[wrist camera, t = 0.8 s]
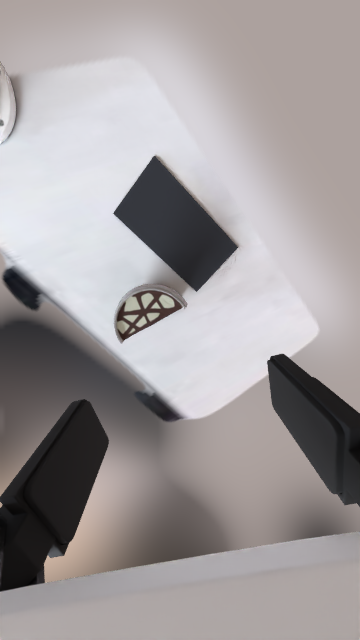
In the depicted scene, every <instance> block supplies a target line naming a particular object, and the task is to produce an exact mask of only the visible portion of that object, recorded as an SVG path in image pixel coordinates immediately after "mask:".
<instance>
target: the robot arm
mask: <svg viewBox="0 0 360 640" xmlns="http://www.w3.org/2000/svg"><path fill="white" fill-rule="evenodd" d="M15 116H16V101H15V96H14V91H13V87H12V84H11V82H10V79H9V77H8V75H7V72H6V71H5V68H4V67H3V65H2V64H1V62H0V143H2V142H3V141H4V140H5V139H6V138H7V137H8V136H9V134H10V133H11V131H12V129H13V126H14V122H15ZM267 364H268V373H269V381H270V390H271V399H272V405H273V407H274V410H275V411H276V413H277V414H278V416H279V417H280V419H281V420H282V421H283V423H284V424H285V426H286V427H287V429H288V430H289V432H290V433H291V435H292V436H293V438H294V439H295V440H296V442H297V443H298V445H299V446H300V448H301V449H302V451H303V452H304V454H305V455H306V457H307V458H308V460H309V461H310V462H311V464H312V466H313V467H314V469H315V470H316V472H317V473H318V474H319V476H320V477H321V479H322V480H323V482H324V483H325V485H326V486H327V488H328V489H329V490H330V491H331V493H333V494H338V496H339V497H340V499H341V500H342V502H343V503H344V505H348V504H354V503H357V504H358V505H359V506H360V413H358V412H357V411H356V410H355V409H353V408H352V407H351V406H349V405H348V404H347V403H346V402H345V401H343V400H342V399H341V398H340V397H339V396H337V395H336V394H335V393H334V392H332V391H331V390H330V389H329V388H328V387H326V386H325V385H324V384H322V383H321V382H320V381H319V380H317V379H316V378H314V377H311V376H310V375H309V374H307V373H306V372H305V371H304V370H303V369H301V368H300V367H299V366H298V365H297V364H295V363H294V362H293V361H292V360H291V359H289V358H288V357H287V356H286V355H284V354H279V355H275V356H271V357H270V360H268V361H267ZM108 444H109V440H108V437H107V435H106V433H105V431H104V429H103V427H102V425H101V423H100V421H99V419H98V417H97V415H96V413H95V411H94V409H93V407H92V405H91V403H90V402H89V401H87V400H85V399H83V400H78V401H74V402H72V403H71V404H70V405H69V407H68V408H67V410H66V411H65V412H64V413H63V415H62V416H61V417H60V419H59V420H58V421H57V423H56V424H55V425H54V427H53V428H52V429H51V431H50V432H49V433H48V435H47V436H46V437H45V438H44V440H43V441H42V442H41V444H40V445H39V446H38V448H37V449H36V450H35V452H34V453H33V454H32V456H31V457H30V458H29V460H28V461H27V462H26V464H25V465H24V466H23V467H22V469H21V470H20V471H19V473H18V474H17V475H16V477H15V478H14V479H13V481H12V482H11V483H10V485H9V486H8V487H7V489H6V490H5V491H4V493H3V494H2V495H1V496H0V502H1V503H2V504H3V505H2V507H1V508H0V640H360V532H352V533H344V534H337V535H331V536H323V537H317V538H309V539H301V540H294V541H288V542H283V543H276V544H271V545H264V546H258V547H252V548H246V549H240V550H234V551H227V552H221V553H216V554H209V555H203V556H197V557H191V558H186V559H180V560H174V561H168V562H162V563H156V564H150V565H145V566H139V567H133V568H127V569H122V570H116V571H110V572H105V573H98V574H93V575H88V576H82V577H76V578H70V579H65V580H60V581H54V582H48V583H45V579H44V562H45V560H46V558H47V555H48V556H49V557H50V558H52V557H58V556H64V554H65V552H66V549H67V547H68V544H69V542H70V541H71V540H72V539H73V537H74V535H75V533H76V530H77V527H78V525H79V522H80V519H81V516H82V514H83V511H84V509H85V506H86V503H87V500H88V498H89V495H90V493H91V490H92V487H93V484H94V482H95V479H96V477H97V474H98V471H99V469H100V466H101V463H102V461H103V458H104V456H105V453H106V450H107V447H108Z"/></svg>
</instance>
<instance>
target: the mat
mask: <svg viewBox="0 0 360 640" xmlns="http://www.w3.org/2000/svg"><path fill="white" fill-rule="evenodd" d="M113 214H114V215H115V216H116V217H118V218H119V219H120V220H121V221H122V222H123V223H124V224H125V225H126V226H127V227H128V228H129V229H130V230H131V231H132V232H134V233H135V234H136V235H137V236H138V237H139V238H140V239H141V240H142V241H143V242H144V243H145V244H146V245H147V246H148V247H150V248H151V249H152V250H153V251H154V252H155V253H156V254H157V255H158V256H159V257H160V258H161V259H162V260H163V261H164V262H165V263H167V264H168V265H169V266H170V267H171V268H172V269H173V270H174V271H175V272H176V273H177V274H178V275H179V276H180V277H181V278H183V279H184V280H185V281H186V282H187V283H188V284H189V285H190V286H191V287H192V288H193V289H194V290H195V291H196V292H197V291H198V290H199V289H200V288H201V287H202V285H203V284H204V283H205V282H206V281H207V280H208V279H209V278H210V277H211V276H212V275H213V274H214V273H215V272H216V270H217V269H218V268H219V267H220V266H221V265H222V264H223V263H224V262H225V261H226V260H227V259H228V258H229V257H230V256H231V254H232V253H233V252H234V251H235V250H236V249H237V248H238V247H237V246H236V245H235V243H234V242H233V241H232V240H231V239H230V238H229V237H228V236H227V235H226V234H225V232H224V231H223V230H222V229H221V228H220V227H219V226H218V225H217V224H216V223H215V222H214V220H213V219H212V218H211V217H210V216H209V215H208V214H207V213H206V212H205V211H204V209H203V208H202V207H201V206H200V205H199V204H198V203H197V202H196V201H195V200H194V199H193V197H192V196H191V195H190V194H189V193H188V192H187V191H186V190H185V189H184V188H183V186H182V185H181V184H180V183H179V182H178V181H177V180H176V179H175V178H174V177H173V176H172V174H171V173H170V172H169V171H168V170H167V169H166V168H165V167H164V166H163V165H162V163H161V162H160V161H159V160H158V159H157V158H156V157H155V156H154V157H153V158H152V160H151V161H150V163H149V164H148V165H147V167H146V168H145V170H144V171H143V172H142V174H141V175H140V177H139V178H138V179H137V181H136V182H135V184H134V185H133V186H132V188H131V189H130V191H129V192H128V193H127V195H126V196H125V198H124V199H123V200H122V202H121V203H120V205H119V206H118V208H117V209H116V210H115V212H114V213H113Z"/></svg>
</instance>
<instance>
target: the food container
mask: <svg viewBox="0 0 360 640" xmlns="http://www.w3.org/2000/svg"><path fill="white" fill-rule="evenodd" d="M183 307H184V309H185V307H187V302H186V301H185V300H184V298H183V297H182V296H181V295H180V294H179V293H177V292H176V291H175V290H173V289H171V288H169V287H166V286H164V285H159V284H145V285H141V286H138V287H136V288H134V289H132V290H130V291H129V292H128V293H126V294H125V296H124V297H123V298H122V299H121V301H120V302H119V304H118V307H117V309H116V312H115V316H114V328H115V332H116V335H117V338H118V340H119V341H120V343H121V344H122V343H123V341H124V340H125V339H127V338H129V337H130V336H132V335H134V334H136V333H137V332H139V331H141V330H143V329H145V328H147V327H149V326H151V325H153V324H155V323H156V322H158V321H160V320H161V319H163V318H165V317H167V316H168V315H170V314H172V313H174V312H176V311H177V310H179V309H181V308H183Z"/></svg>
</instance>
